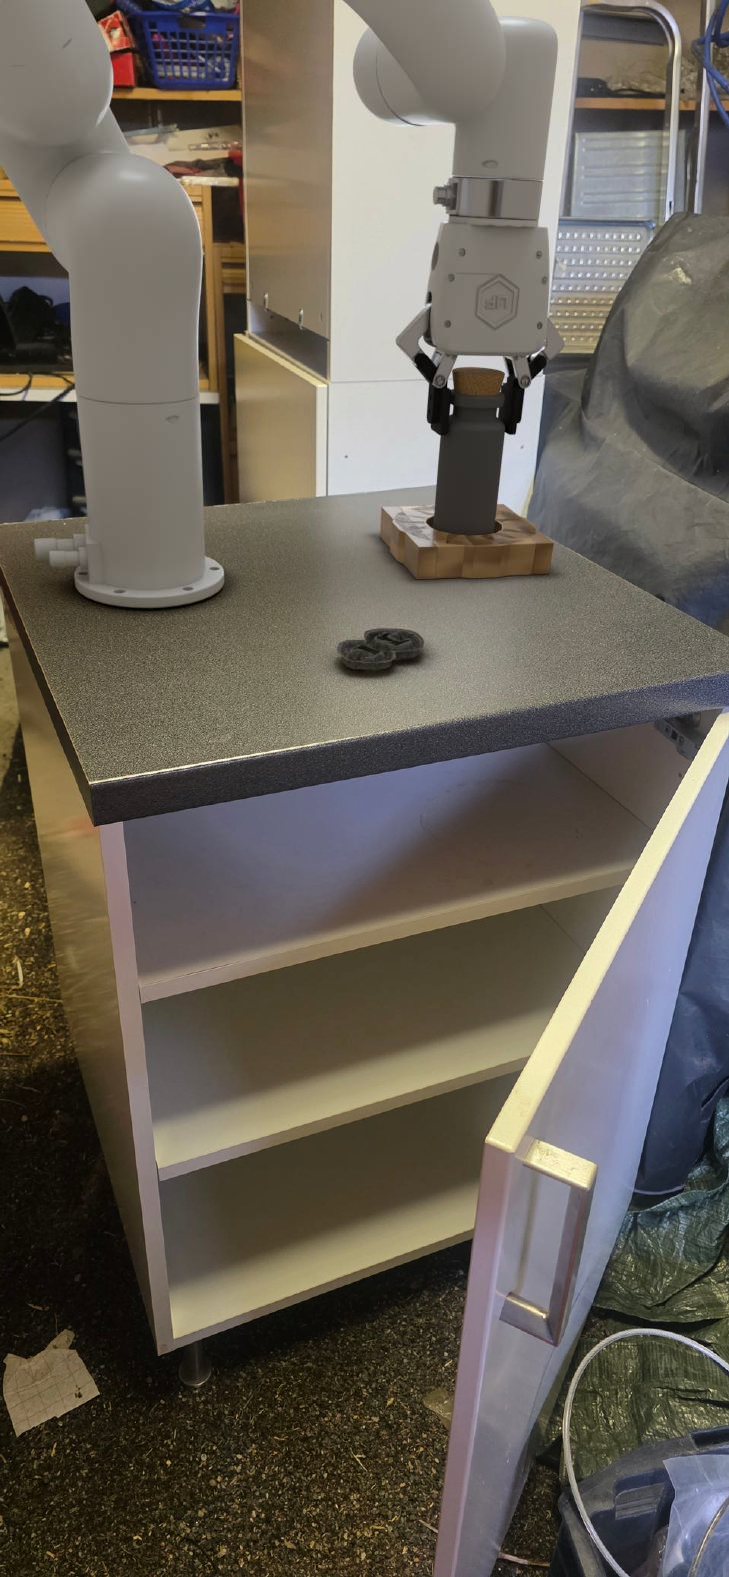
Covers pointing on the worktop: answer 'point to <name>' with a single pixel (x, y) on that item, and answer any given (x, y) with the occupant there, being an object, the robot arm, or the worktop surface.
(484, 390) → the bottle
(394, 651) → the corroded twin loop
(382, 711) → the worktop surface
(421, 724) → the worktop surface
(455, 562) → the socket pad
